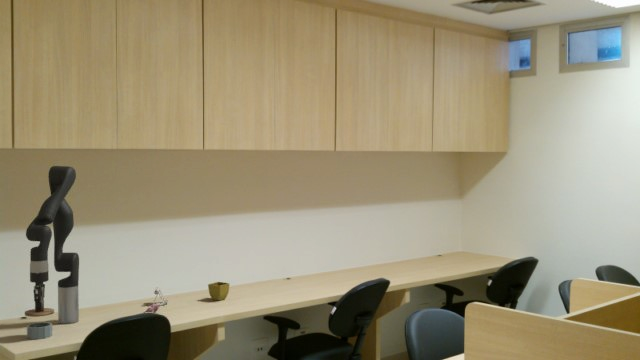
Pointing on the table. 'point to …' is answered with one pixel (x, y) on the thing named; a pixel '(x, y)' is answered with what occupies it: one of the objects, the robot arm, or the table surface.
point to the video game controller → (152, 308)
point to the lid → (39, 313)
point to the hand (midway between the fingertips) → (39, 309)
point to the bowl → (39, 330)
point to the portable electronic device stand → (160, 295)
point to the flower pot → (218, 290)
